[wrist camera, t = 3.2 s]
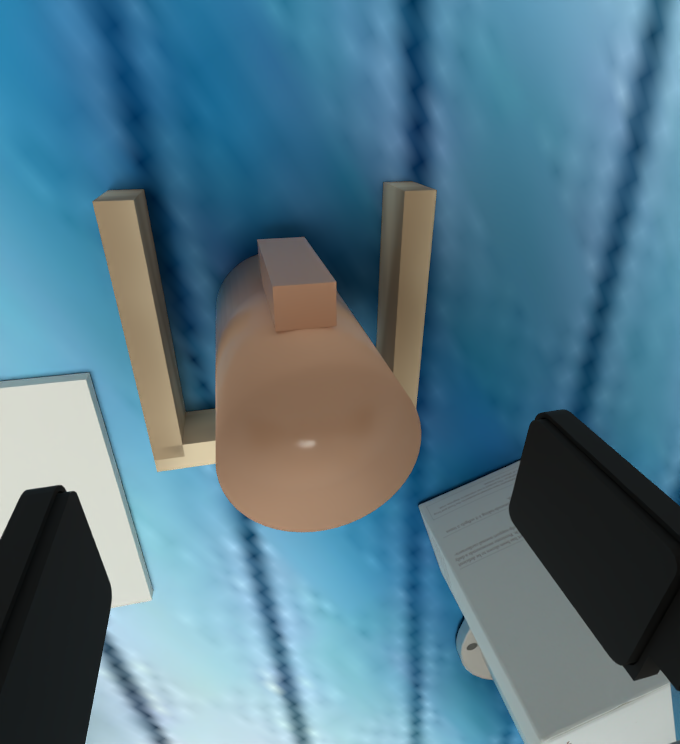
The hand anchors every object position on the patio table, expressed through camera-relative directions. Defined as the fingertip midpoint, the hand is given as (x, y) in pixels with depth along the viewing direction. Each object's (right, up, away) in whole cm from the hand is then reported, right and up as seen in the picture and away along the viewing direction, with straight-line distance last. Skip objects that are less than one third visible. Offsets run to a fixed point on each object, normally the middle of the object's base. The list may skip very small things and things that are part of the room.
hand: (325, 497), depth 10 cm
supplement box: (+9, -7, +20) cm, 23 cm away
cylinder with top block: (-2, +5, +10) cm, 12 cm away
